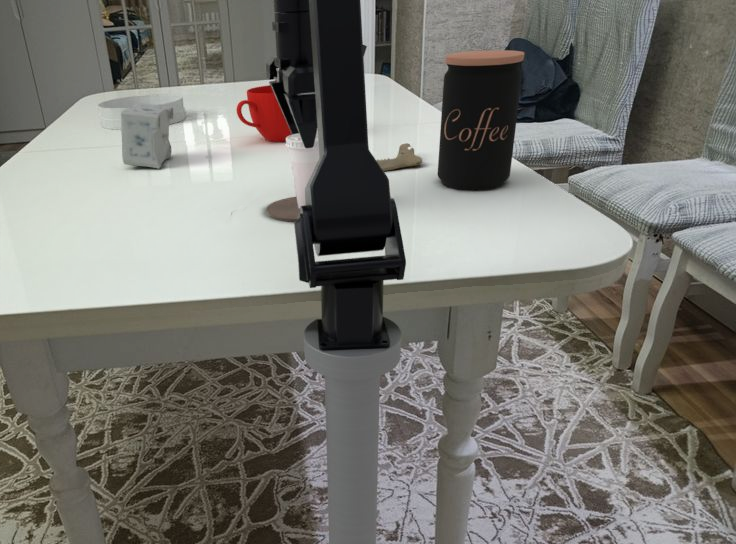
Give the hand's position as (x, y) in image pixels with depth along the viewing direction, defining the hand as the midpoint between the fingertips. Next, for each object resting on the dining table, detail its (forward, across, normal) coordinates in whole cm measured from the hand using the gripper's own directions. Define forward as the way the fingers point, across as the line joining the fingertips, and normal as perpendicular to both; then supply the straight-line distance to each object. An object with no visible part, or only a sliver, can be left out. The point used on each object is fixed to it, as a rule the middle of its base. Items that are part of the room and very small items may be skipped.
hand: (302, 140), depth 87 cm
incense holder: (+10, +39, +22) cm, 46 cm away
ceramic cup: (+10, +50, -3) cm, 51 cm away
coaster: (+10, 0, 0) cm, 10 cm away
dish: (+10, +90, +25) cm, 94 cm away
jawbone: (+10, +22, -15) cm, 29 cm away
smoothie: (+9, 0, -1) cm, 9 cm away
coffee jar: (+10, +4, -27) cm, 29 cm away
